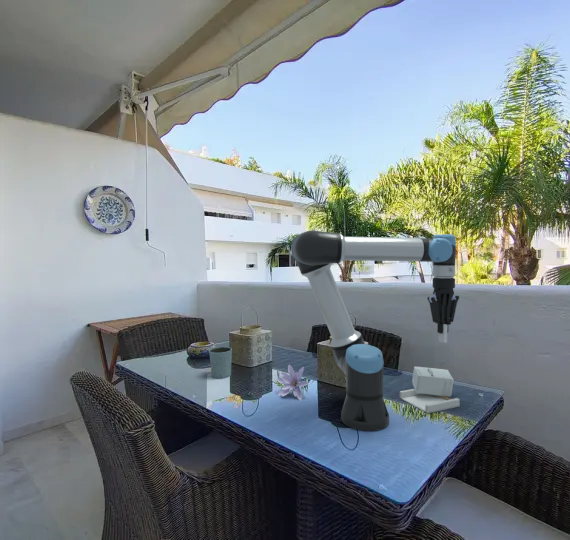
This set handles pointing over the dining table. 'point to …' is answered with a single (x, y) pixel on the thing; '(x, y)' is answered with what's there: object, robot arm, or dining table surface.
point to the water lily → (292, 382)
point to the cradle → (428, 401)
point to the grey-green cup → (220, 362)
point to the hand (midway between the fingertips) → (442, 341)
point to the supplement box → (432, 381)
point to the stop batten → (444, 397)
